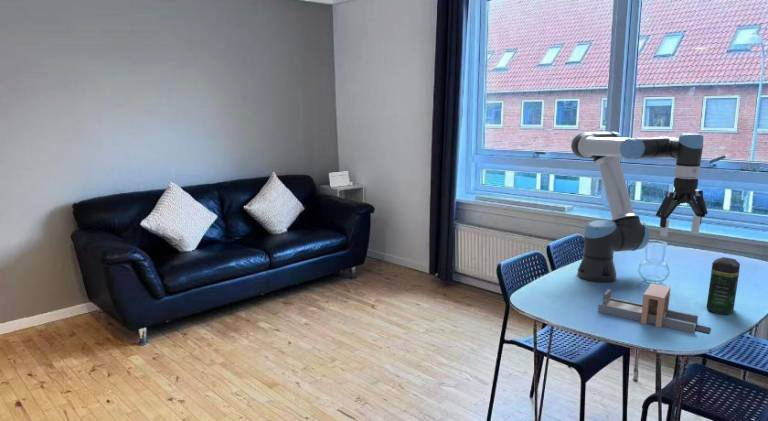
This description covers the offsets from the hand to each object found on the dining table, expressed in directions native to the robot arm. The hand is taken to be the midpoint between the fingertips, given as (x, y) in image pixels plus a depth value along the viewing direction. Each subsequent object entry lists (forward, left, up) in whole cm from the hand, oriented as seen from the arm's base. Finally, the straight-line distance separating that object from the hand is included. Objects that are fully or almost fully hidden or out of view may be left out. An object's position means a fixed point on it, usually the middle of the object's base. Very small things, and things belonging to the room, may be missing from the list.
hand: (679, 234), depth 189 cm
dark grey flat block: (+12, -26, -24) cm, 38 cm away
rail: (-4, -26, -24) cm, 36 cm away
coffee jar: (+15, -4, -24) cm, 29 cm away
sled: (-8, -26, -23) cm, 36 cm away
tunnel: (-2, -26, -24) cm, 36 cm away
